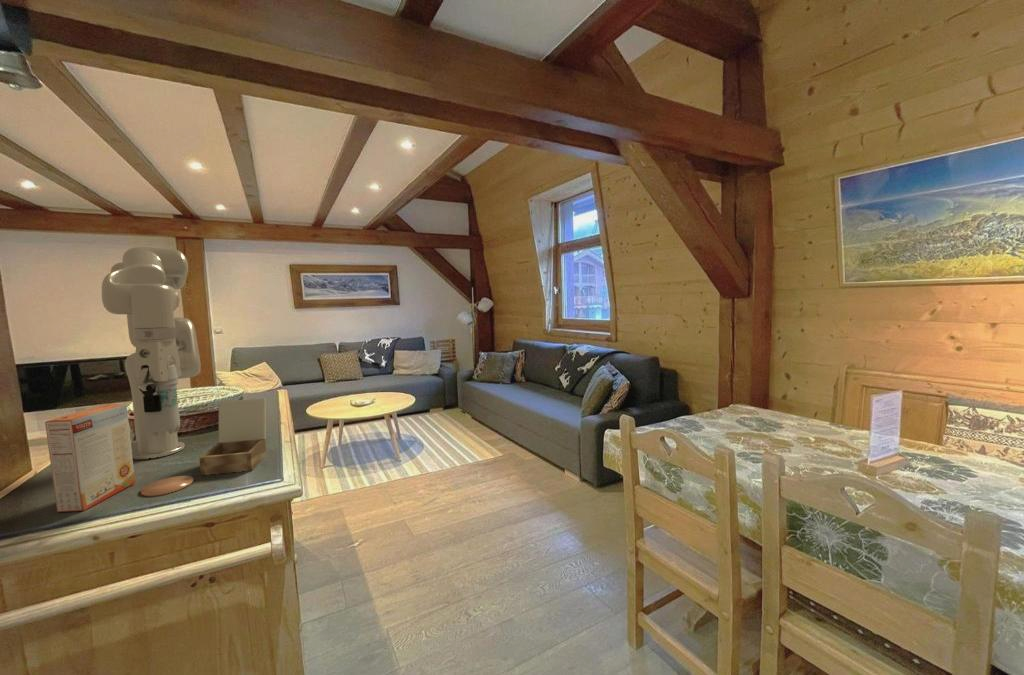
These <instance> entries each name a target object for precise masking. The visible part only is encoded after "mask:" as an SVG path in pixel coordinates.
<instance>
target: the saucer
mask: <svg viewBox="0 0 1024 675" xmlns="http://www.w3.org/2000/svg"><path fill="white" fill-rule="evenodd" d="M192 482H193V483H194V477H192V476H189V475H177V476H170V477H166V478H162V479H159V480H156V481H153V482H149V483H148V484H146V485H145V486H143V487H142V488H141V489H140V495H141V496H143V495H144V497H159V496H164V494H165V495H168V493H169V494H172V493H171V492H173V493H175V491H176V492H178V491H177V490H179V491H181V490H180V489H182V488H184V487H186V486H188V485H190V484H191V483H192ZM193 483H192V484H193ZM192 484H191V485H192ZM191 485H190V486H191ZM188 487H189V486H188ZM186 488H187V487H186ZM184 489H185V488H184ZM182 490H183V489H182ZM158 495H159V496H158Z"/></svg>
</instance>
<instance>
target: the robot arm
mask: <svg viewBox="0 0 1024 675" xmlns="http://www.w3.org/2000/svg"><path fill="white" fill-rule="evenodd" d="M121 260H122V261H120V262H118V263H115V264H113V265H112V266H111V269H110V272H109V273H107V274H106V275H105V276H104V278H103V280H102V283H101V301H102V304H103V307H104V308H105V310H106V311H107V312H108V313H110V314H114V315H126V320H127V330H128V336H129V337H128V338H129V341H130V344H131V345H132V347H135V352H133V353H131V354H129V355H128V356H127V357H126V359H125V361H124V368H125V371H126V375H127V378H128V382H129V386H130V392H131V399H132V409H133V420H134V421H133V422H134V430H135V431H134V432H135V433H134V434H135V440H131V449H132V458H133V460H149V458H151V459H156V458H157V457H158V458H162V457H166V456H169V455H172V454H176V453H178V452H180V451H182V450H183V449H184V448H185V446H186V445H185V443H184V442H183V441H179V440H178V439H179V438H178V431H177V432H174V433H172V434H169V431H167V432H165V435H163V436H161V435H160V433H158V434H157V436H152V435H150V434H149V433H148V431H147V426H146V415H147V413H148V412H160V411H161V410H162V407H161V395H158V392H159V383H164V382H167V381H168V373H169V370H168V369H169V368H168V366H170V365H175V367H176V371H177V375H178V380H181V379H189V378H193V377H197V375H199V374H200V372H201V368H202V367H201V366H202V364H201V358H200V356H201V355H200V351H199V343H198V338H197V331H196V327H195V325H194V323H193V321H192V320H190V319H189V318H186V317H175V316H174V315H175V314H174V313H175V311H176V310H177V308H178V307H179V306H180V301H181V300H180V295H179V292H178V291H177V290H181V289H182V288H183V287H185V285H186V282H187V278H188V273H189V263H188V259H187V258H186V255H185V253H183V252H182V251H180V250H178V249H175V248H174V249H173V248H161V247H148V246H136V247H131V248H129V249H127V250H126V251H125V252H124V253H123V255H122V259H121ZM183 289H184V288H183ZM149 379H153V380H154V381H155V382H147V380H149ZM148 385H154V388H152V387H151V386H148Z"/></svg>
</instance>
